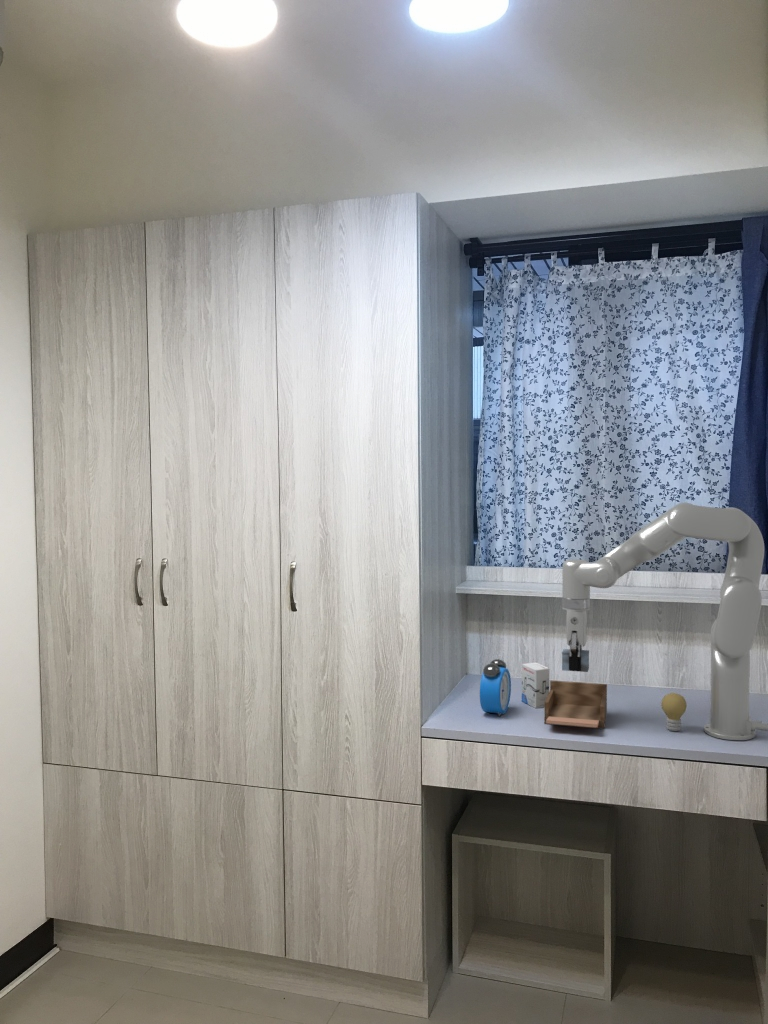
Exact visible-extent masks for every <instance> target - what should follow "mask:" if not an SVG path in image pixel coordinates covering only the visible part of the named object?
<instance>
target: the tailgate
mask: <svg viewBox="0 0 768 1024" xmlns="http://www.w3.org/2000/svg"><path fill="white" fill-rule="evenodd" d="M546 723H549V724H548V725H552V724H561V725H560V726H564V725H573V726H572V727H576V726H585V727H584V728H588V727H598V724H599V720H588V719H576V718H563V717H551V716H549V717H548V718H547V720H546Z"/></svg>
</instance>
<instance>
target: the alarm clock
mask: <svg viewBox="0 0 768 1024" xmlns="http://www.w3.org/2000/svg"><path fill="white" fill-rule="evenodd" d="M511 679H512V678H511V674H510V670H509V669H508V668H507V664H506V662H505V661H504V660H502V659H500V658H496V659H493V660H491V661H490V663H488V664H486V665H485V666H484V667H483V670H482V674H481V678H480V683H479V704H480V707H481V710H482V712H484V713H492V714H498V717H499V716H501V714H502V715H504V714H505V713H506V712H507V710H508V708H509V705H510V701H511V693H512V683H511V681H512V680H511Z"/></svg>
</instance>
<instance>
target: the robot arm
mask: <svg viewBox="0 0 768 1024" xmlns="http://www.w3.org/2000/svg"><path fill="white" fill-rule="evenodd" d="M686 538H691V539H699V540H707V541H716V542H724V543H727V545H728V555H727V562H726V568H725V572H724V577H723V581H722V585H721V586H720V589H719V590H720V591H719V597H720V602H719V607H718V612H717V617H716V619H715V620H714V621H713V623H712V625H711V628H710V706H709V707H710V710H709V711H710V713H709V714H710V716H709V717H710V719H709V720H710V721H709V723H706V724H704V726H703V731H704V733H706V734H707V735H709V736H711V737H714V738H718V739H721V740H726V741H727V740H729V741H748V740H752V739H754V738H755V737H756V730H758V731H759V730H760V731H767V732H768V723H767V722H763V721H762V720H753V719H751V716H750V678H751V654H750V653H751V652H750V651H751V649H752V648H753V646H754V645H753V644H754V641H755V638H756V633H757V629H758V623H759V619H760V615H761V609H762V604H763V600H762V599H763V598H762V593H761V590H760V588H759V587H760V581H761V576H762V572H763V563H764V557H765V543H764V542H765V541H764V538H763V535H762V532H761V530H760V528H759V526H758V525H757V523H756V522H755V521H754V520H753V519H752V518H751V517H750V516H749V515H748V514H747V513H745V512H744V511H743V510H742V509H739V508H737V507H732V506H731V507H725V508H724V507H722V508H721V507H712V506H702V505H696V504H693V503H689V502H680V503H677V504H676V505H674V506H673V507H671V508H669V509H668V510H667V511H665V512H664V513H662V514H661V515H660V516H658V517H656V518H655V519H654V520H652V521H651V522H649V523H648V524H647V525H644V527H641V528H640V529H639V530H638V531H636V532H635V533H634V534H632V535H631V536H630V537H629V538H628V539H627V540H625V541H623V542H622V543H621V544H619V545H618V546H616V547H615V548H614V549H611V551H609V552H607V553H606V554H605V555H604V556H602V557H600V558H599V559H598V560H596V561H592V562H589V561H587V560H585V559H580V558H579V559H574V558H573V559H566V560H564V561H563V563H562V579H561V580H562V581H561V582H562V590H561V591H562V592H561V593H562V595H561V596H562V598H561V599H562V602H561V603H562V604H561V605H562V608H561V609H562V610H564V611H566V620H565V621H566V623H565V624H566V644H567V645H568V646H569V649H570V656H569V670H570V671H569V672H580V671H581V657H580V650H583V647H585V646H586V645H587V642H588V625H587V624H588V623H587V619H588V617H587V611H590V610H591V588H595V589H596V588H597V589H608V588H611V587H613V586H614V585H615V584H616V582H617V581H618V580H619V579H621V578H622V577H623V576H624V575H626V574H628V573H629V572H630V571H632V570H633V569H635V568H636V567H638V566H640V565H641V564H643V563H645V562H648V561H652V560H654V559H656V558H657V557H659V556H661V555H662V554H663V553H665V552H667V551H668V550H669V549H671V548H672V547H674V546H675V545H677V544H679V543H680V542H681V541H683V540H685V539H686Z"/></svg>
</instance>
